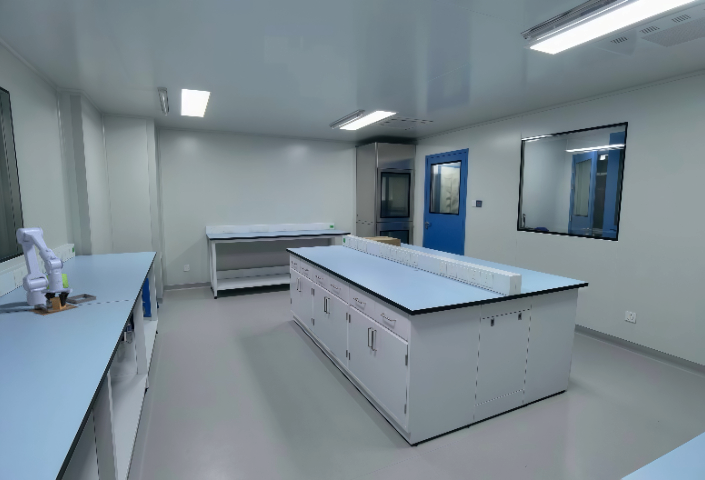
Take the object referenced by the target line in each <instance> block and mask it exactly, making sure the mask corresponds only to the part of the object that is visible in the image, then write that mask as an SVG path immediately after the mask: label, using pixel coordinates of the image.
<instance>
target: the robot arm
mask: <svg viewBox="0 0 705 480" xmlns="http://www.w3.org/2000/svg"><path fill="white" fill-rule="evenodd" d="M15 233H16V234H15V235H16V239H17V243H18V244H19V245H21V248H22V251H23V252H22V253H23V256H24V260H25V264H26V270H27V274H26V275H25V276H24V277H22V288H23V290H24V291H25V292H27V293H26V295H25V296H26V302H27V305H29V306H31V307H34V305H36V304H44V305H46V300H50V299H51V298H53V297H56V294H58V296H59V298H60V301H61V306H65V304H66V303H67V301H66V299H67V297H69V295H70V294H71V293H73V288H71V287H70V288H69V287H67V288H63V282H62V274H63V273H62V269H64V261H63V260H62V258H60V257H58V256H56V254H55V252H54V251H53V250H52V248H49V247H48V246H47V243H46V241H45V239H44V230H43V228H41V226H37V227H36V226H35V227H20V228H18V229H17V230H16V232H15ZM35 247H36V248H37V250H39V252H38V255H39V257H40V258H41V260H42V262H44V263H43V264H44V265H43V267H44V269H45V272H46V274H47V275H48V279H47V277H46V276H47V275H46V274H45V273H43V272H41V271H40V267H39V262H38V258H37V253H36V249H35ZM48 280H49V282H48ZM48 284H49V289H46V287H48Z"/></svg>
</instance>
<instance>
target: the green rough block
mask: <svg viewBox="0 0 705 480" xmlns="http://www.w3.org/2000/svg"><path fill="white" fill-rule="evenodd" d="M46 277H47V279H48V274H47V275H46ZM48 282H49V280H48ZM62 282H63V288H69V280H68V275H67V273H62ZM46 289H49V284H48V287H46Z"/></svg>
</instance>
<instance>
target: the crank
mask: <svg viewBox="0 0 705 480" xmlns="http://www.w3.org/2000/svg"><path fill="white" fill-rule="evenodd" d="M33 309H35V310H40V309H45V310H48V311H49V310H53V306H52V301H51V300H48V299H46V304H36V305H34V306H33Z"/></svg>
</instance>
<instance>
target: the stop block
mask: <svg viewBox="0 0 705 480" xmlns="http://www.w3.org/2000/svg"><path fill="white" fill-rule="evenodd" d="M50 300H51V301H52V306H53V310H59V309H62V308H65V307H66V304H65V306H61V301H60V298H59V295H58V296H56V295H55V297H53V298H51V299H50Z"/></svg>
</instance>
